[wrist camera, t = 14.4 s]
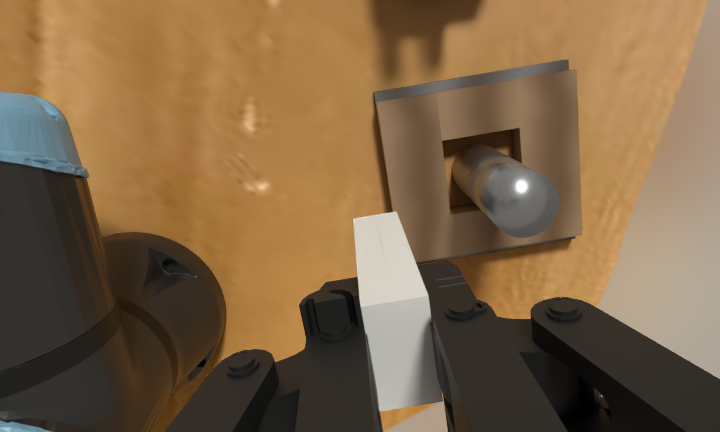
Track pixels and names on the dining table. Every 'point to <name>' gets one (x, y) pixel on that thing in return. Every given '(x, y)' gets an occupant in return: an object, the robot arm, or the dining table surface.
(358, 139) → the dining table surface
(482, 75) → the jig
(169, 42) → the dining table surface
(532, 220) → the steel cylinder rod
